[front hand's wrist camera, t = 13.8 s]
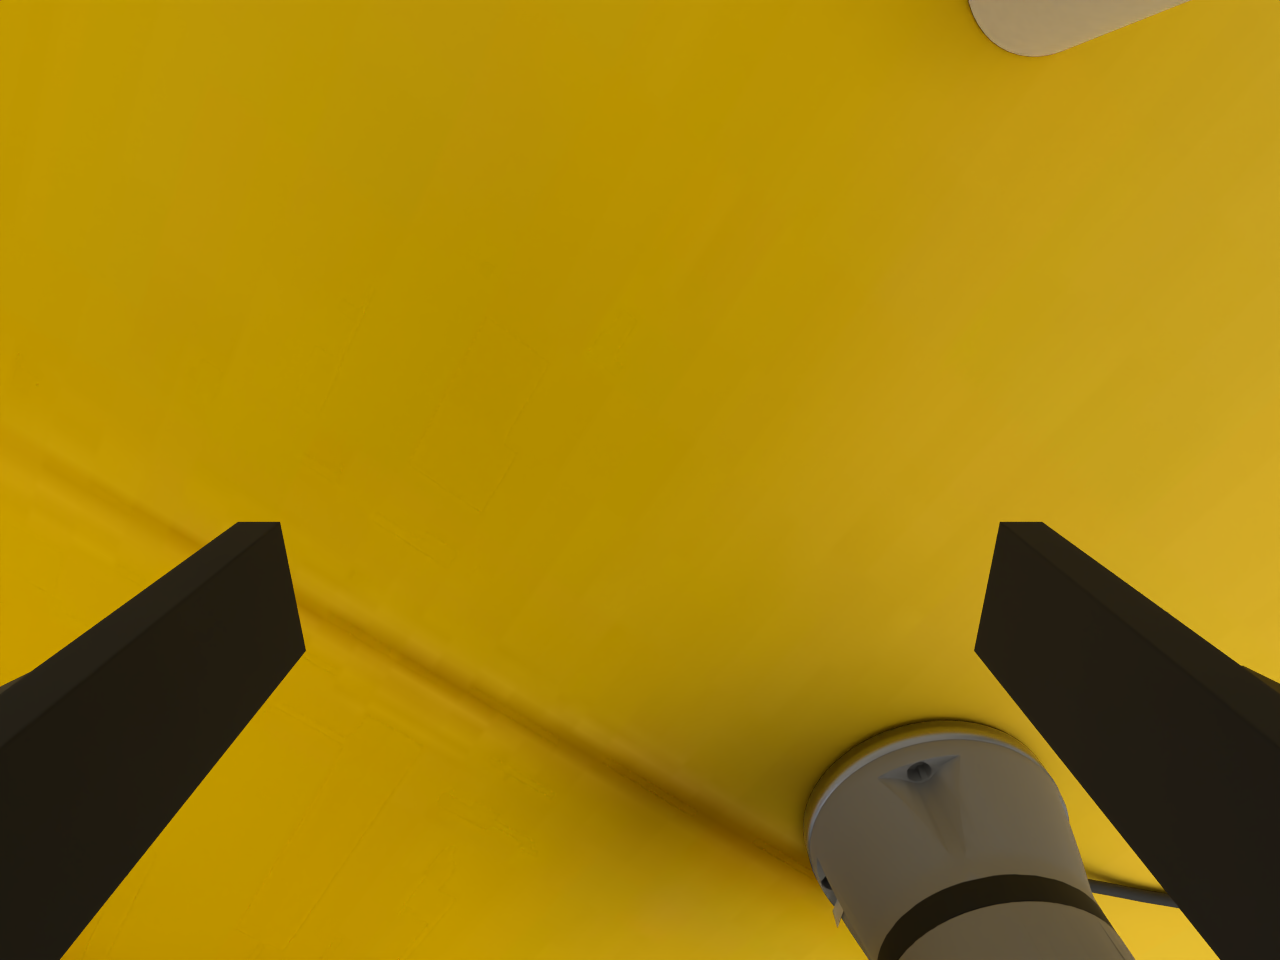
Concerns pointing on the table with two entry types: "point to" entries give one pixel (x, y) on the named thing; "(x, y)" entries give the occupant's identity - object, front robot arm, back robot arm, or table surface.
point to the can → (1057, 21)
